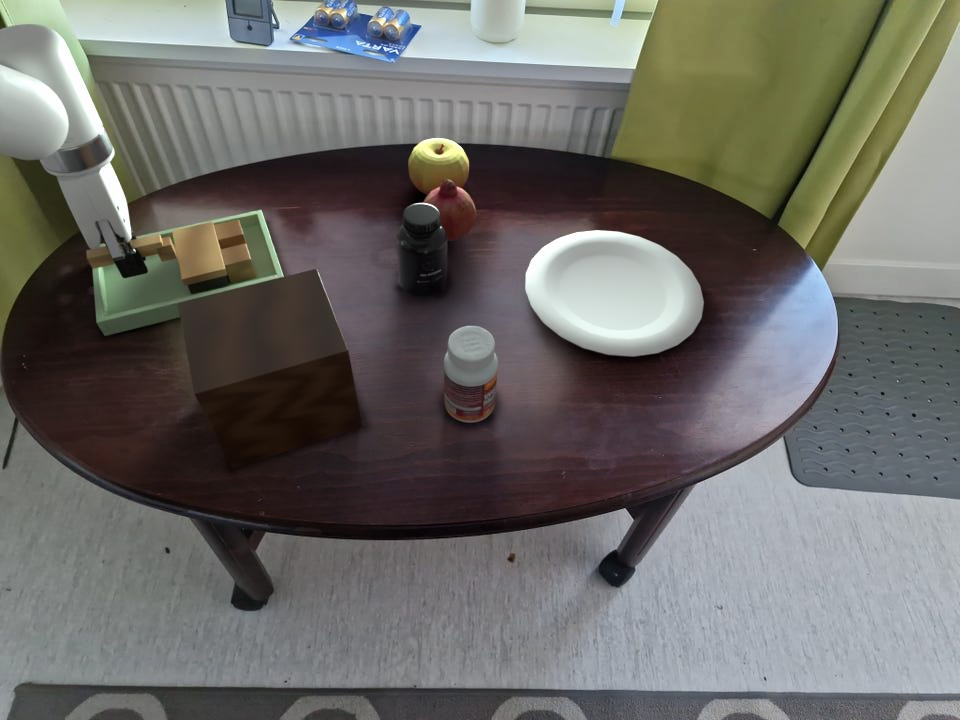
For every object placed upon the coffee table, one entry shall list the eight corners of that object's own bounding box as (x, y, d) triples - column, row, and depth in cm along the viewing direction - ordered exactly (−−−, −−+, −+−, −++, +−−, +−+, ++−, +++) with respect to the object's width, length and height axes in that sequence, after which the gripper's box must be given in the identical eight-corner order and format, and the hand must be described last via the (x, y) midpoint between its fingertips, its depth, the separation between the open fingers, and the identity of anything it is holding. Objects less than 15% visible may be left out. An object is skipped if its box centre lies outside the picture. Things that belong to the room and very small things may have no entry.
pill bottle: (493, 426, 77) (498, 367, 68) (441, 422, 77) (440, 362, 68) (496, 385, 81) (501, 324, 72) (447, 381, 81) (446, 319, 72)
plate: (514, 239, 99) (515, 230, 97) (674, 236, 101) (677, 227, 99) (535, 366, 83) (537, 358, 82) (724, 360, 85) (728, 352, 84)
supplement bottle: (430, 306, 89) (428, 238, 80) (389, 287, 91) (383, 219, 82) (456, 277, 93) (457, 209, 84) (416, 259, 95) (413, 191, 86)
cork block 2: (231, 284, 90) (224, 265, 87) (227, 268, 92) (220, 249, 89) (256, 277, 91) (250, 259, 88) (252, 262, 93) (246, 243, 90)
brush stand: (232, 468, 72) (194, 394, 61) (214, 382, 80) (177, 302, 69) (362, 426, 76) (348, 350, 65) (333, 348, 84) (316, 268, 73)
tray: (104, 336, 84) (96, 322, 82) (98, 260, 93) (90, 246, 90) (287, 290, 90) (283, 276, 88) (264, 223, 99) (261, 209, 97)
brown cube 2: (224, 258, 93) (217, 239, 90) (220, 243, 95) (213, 224, 92) (249, 253, 94) (243, 234, 91) (244, 238, 96) (238, 219, 93)
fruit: (424, 255, 96) (422, 200, 88) (420, 221, 101) (418, 165, 93) (478, 252, 96) (480, 197, 89) (471, 218, 102) (473, 163, 94)
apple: (480, 184, 107) (482, 141, 101) (446, 214, 102) (446, 170, 96) (432, 163, 111) (431, 120, 104) (397, 191, 105) (393, 148, 99)
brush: (219, 238, 95) (205, 203, 90) (231, 285, 89) (218, 250, 84) (104, 265, 91) (84, 229, 86) (110, 316, 85) (88, 281, 80)
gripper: (36, 117, 76) (101, 239, 90) (37, 193, 67) (108, 315, 81) (105, 106, 78) (158, 226, 93) (114, 178, 69) (171, 300, 83)
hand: (134, 267), depth 87 cm, fingers closed on brush
